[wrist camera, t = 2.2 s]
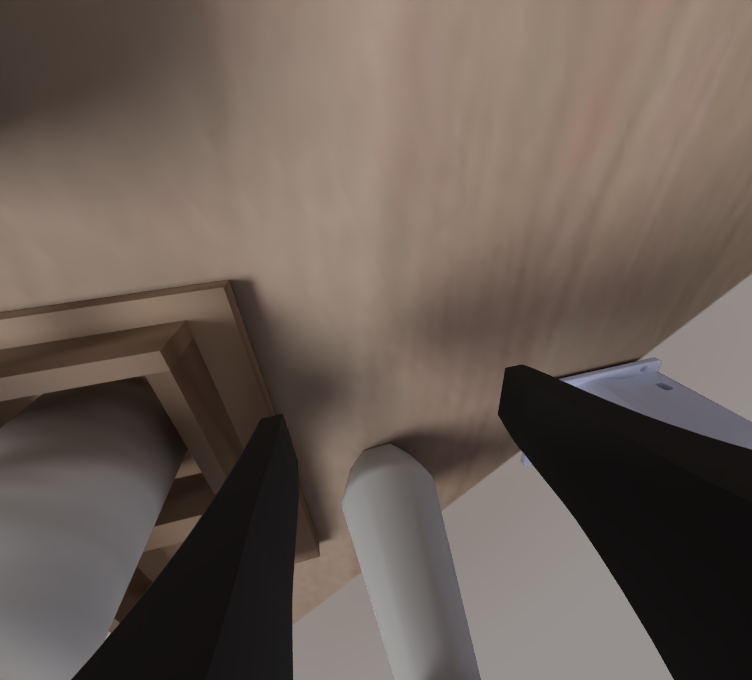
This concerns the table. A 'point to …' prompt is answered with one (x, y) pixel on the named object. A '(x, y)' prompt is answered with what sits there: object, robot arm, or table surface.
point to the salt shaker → (408, 566)
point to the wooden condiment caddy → (113, 458)
